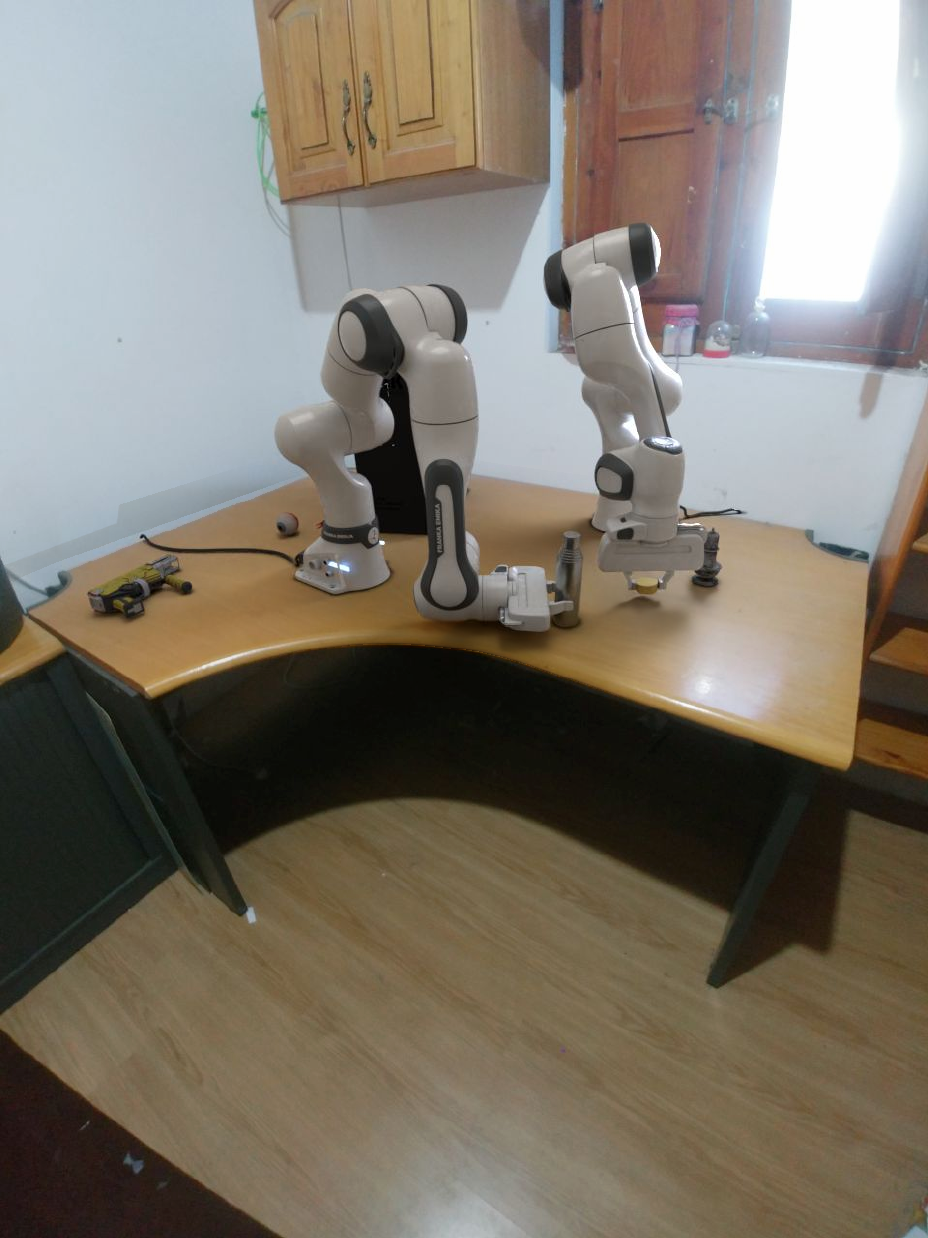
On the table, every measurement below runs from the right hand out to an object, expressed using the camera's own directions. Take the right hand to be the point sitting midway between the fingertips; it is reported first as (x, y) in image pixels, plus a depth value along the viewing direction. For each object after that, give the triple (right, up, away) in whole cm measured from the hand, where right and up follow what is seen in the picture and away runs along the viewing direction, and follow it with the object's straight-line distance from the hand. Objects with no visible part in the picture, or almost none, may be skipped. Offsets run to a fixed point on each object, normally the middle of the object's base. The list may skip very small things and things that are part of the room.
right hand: (646, 588), depth 123 cm
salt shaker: (+14, +2, +6) cm, 16 cm away
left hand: (-17, -2, -8) cm, 19 cm away
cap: (0, +1, 0) cm, 1 cm away
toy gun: (-107, -1, +14) cm, 108 cm away
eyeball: (-85, +17, +42) cm, 97 cm away
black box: (-50, +26, +55) cm, 78 cm away
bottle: (-17, -7, -6) cm, 19 cm away
